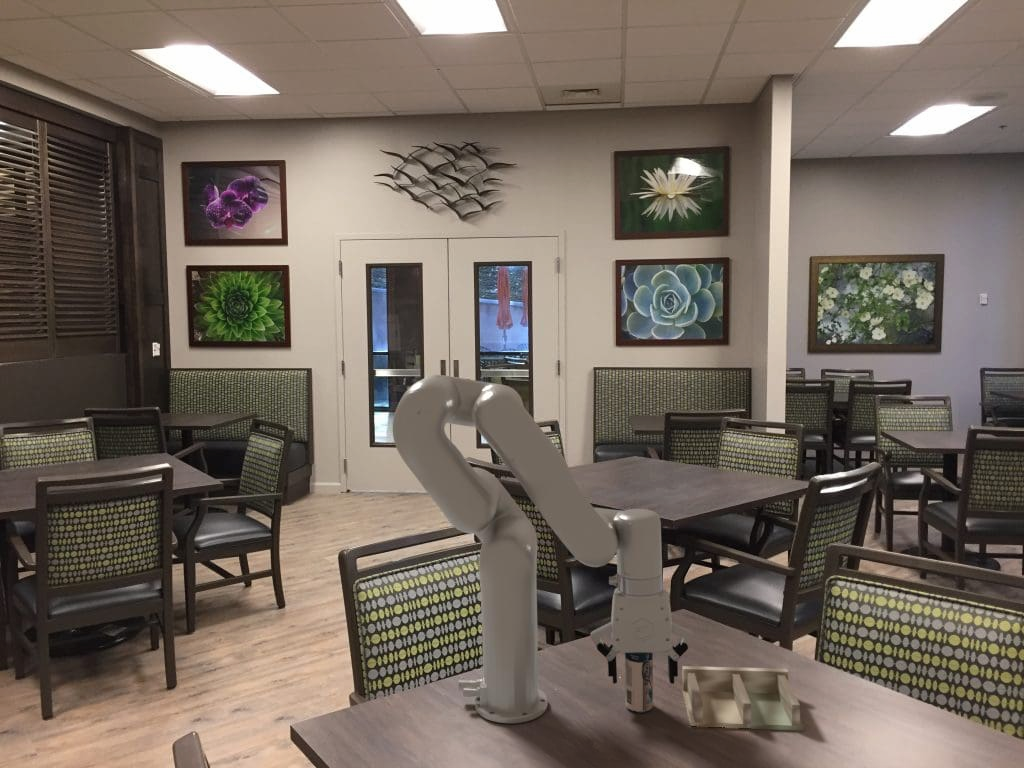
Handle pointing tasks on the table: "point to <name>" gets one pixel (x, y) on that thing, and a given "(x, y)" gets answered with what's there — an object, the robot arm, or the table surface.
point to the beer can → (639, 681)
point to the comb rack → (740, 698)
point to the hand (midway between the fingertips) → (642, 680)
